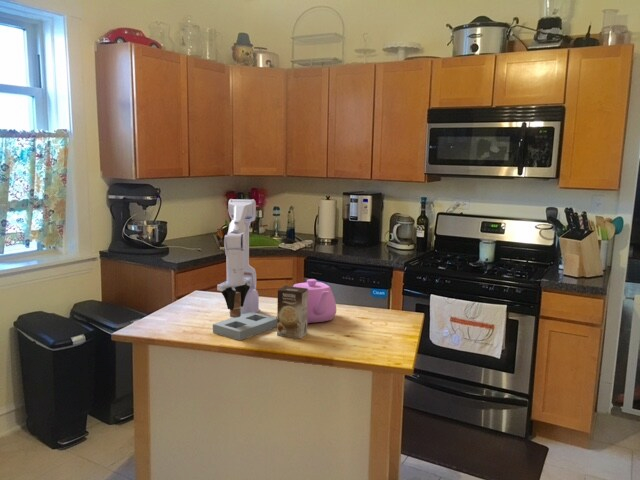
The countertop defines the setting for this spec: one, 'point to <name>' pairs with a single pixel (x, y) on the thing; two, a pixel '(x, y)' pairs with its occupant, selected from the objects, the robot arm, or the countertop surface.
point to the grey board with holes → (245, 325)
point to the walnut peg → (236, 306)
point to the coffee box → (292, 311)
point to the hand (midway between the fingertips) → (235, 307)
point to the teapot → (319, 301)
